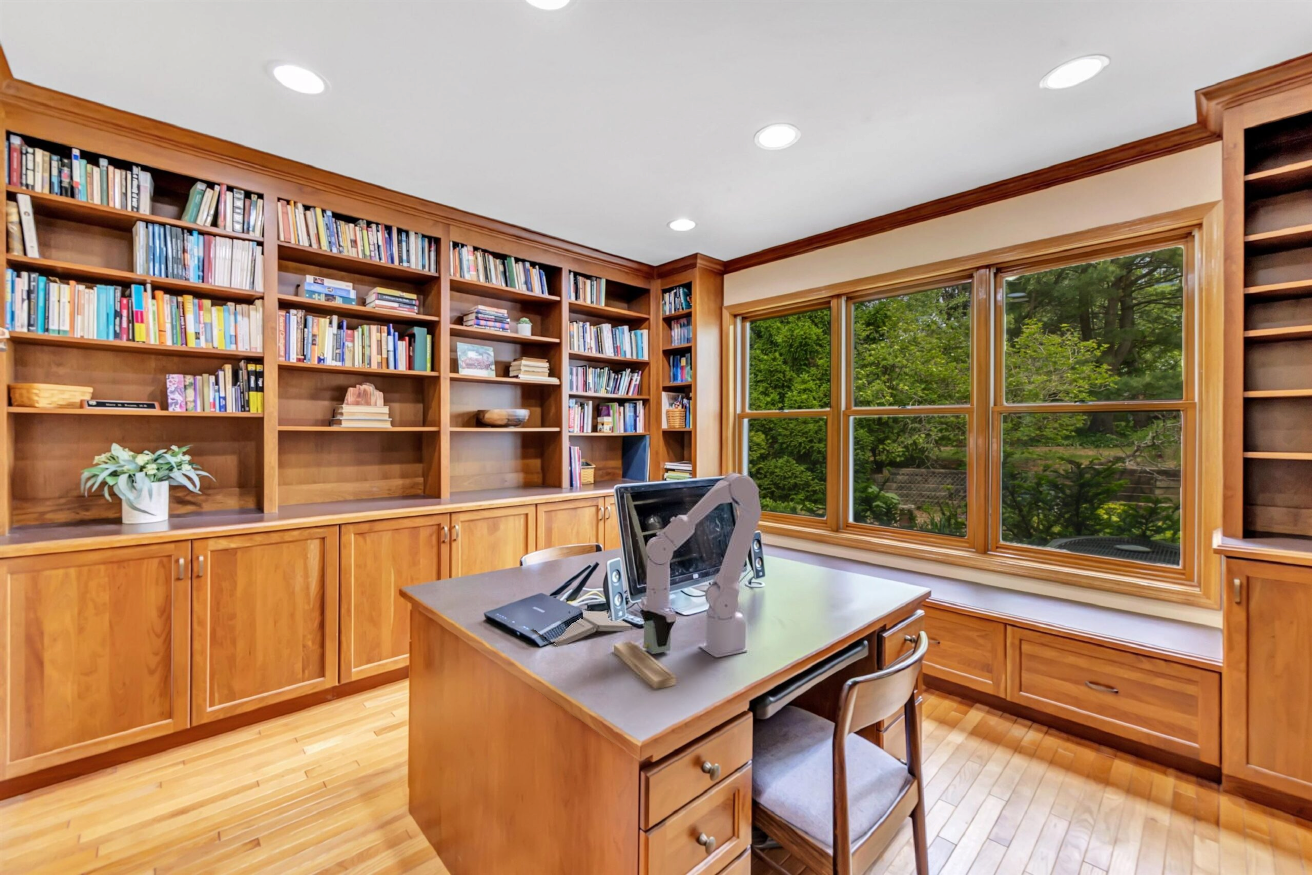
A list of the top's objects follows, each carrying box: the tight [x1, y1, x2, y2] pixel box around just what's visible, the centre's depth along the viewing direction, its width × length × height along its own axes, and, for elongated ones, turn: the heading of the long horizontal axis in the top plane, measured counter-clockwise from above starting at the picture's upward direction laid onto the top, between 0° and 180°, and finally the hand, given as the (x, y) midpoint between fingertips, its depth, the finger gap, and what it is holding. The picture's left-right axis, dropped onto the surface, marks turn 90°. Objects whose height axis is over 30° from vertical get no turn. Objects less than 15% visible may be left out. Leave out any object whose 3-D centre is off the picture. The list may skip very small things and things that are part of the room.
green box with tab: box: [642, 620, 672, 655], centre depth 135 cm, size 6×4×6 cm
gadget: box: [554, 610, 633, 648], centre depth 150 cm, size 23×15×4 cm, turn 126°
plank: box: [613, 640, 677, 690], centre depth 126 cm, size 5×22×2 cm, turn 27°
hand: (657, 642), depth 135 cm, fingers closed on green box with tab, 4 cm apart
